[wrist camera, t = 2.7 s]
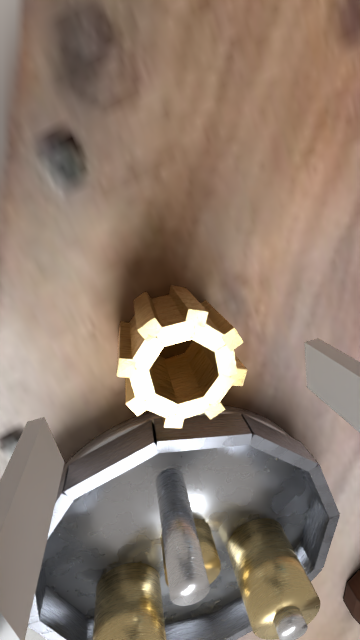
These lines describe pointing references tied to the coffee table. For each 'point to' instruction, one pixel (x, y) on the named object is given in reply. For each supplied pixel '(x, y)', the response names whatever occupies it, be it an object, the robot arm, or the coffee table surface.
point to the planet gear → (177, 357)
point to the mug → (353, 596)
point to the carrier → (186, 534)
